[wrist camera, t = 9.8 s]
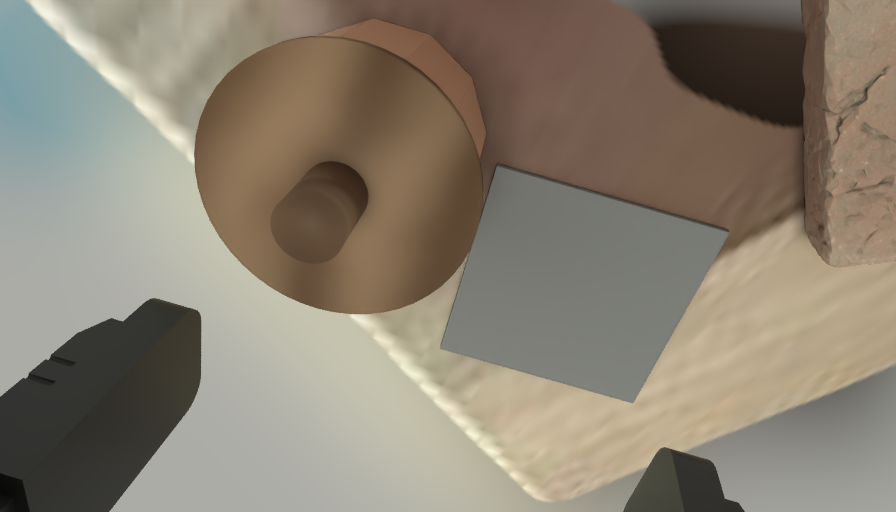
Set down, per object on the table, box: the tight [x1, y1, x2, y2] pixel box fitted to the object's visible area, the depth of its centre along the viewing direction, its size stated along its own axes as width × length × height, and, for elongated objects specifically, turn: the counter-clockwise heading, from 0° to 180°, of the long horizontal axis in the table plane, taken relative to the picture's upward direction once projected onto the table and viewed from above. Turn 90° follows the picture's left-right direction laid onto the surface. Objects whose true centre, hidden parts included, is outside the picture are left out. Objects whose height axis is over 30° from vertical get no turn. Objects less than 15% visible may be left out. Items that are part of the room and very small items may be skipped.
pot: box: [318, 18, 486, 159], centre depth 33 cm, size 13×13×9 cm
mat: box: [440, 164, 730, 403], centre depth 40 cm, size 15×15×1 cm
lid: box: [194, 36, 483, 314], centre depth 27 cm, size 14×14×5 cm
